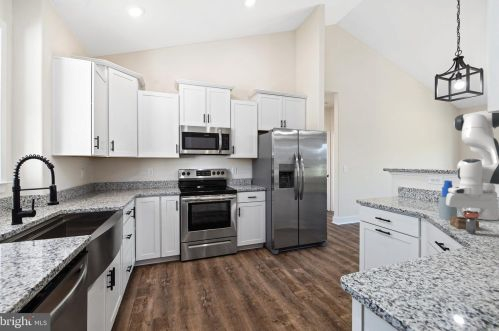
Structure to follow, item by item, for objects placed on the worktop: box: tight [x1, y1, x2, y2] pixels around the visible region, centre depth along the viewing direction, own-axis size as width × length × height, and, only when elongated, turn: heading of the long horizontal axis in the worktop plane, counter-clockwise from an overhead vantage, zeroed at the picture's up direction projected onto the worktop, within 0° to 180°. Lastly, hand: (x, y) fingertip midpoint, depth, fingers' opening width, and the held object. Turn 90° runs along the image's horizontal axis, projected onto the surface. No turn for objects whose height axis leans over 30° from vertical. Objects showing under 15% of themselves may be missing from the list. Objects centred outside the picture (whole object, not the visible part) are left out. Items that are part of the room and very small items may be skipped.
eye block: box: [449, 216, 480, 231], centre depth 129 cm, size 9×9×5 cm
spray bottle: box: [438, 179, 458, 221], centre depth 147 cm, size 9×9×25 cm
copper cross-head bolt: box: [462, 210, 479, 234], centre depth 118 cm, size 6×6×11 cm
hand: (470, 216), depth 118 cm, fingers closed on copper cross-head bolt, 6 cm apart
